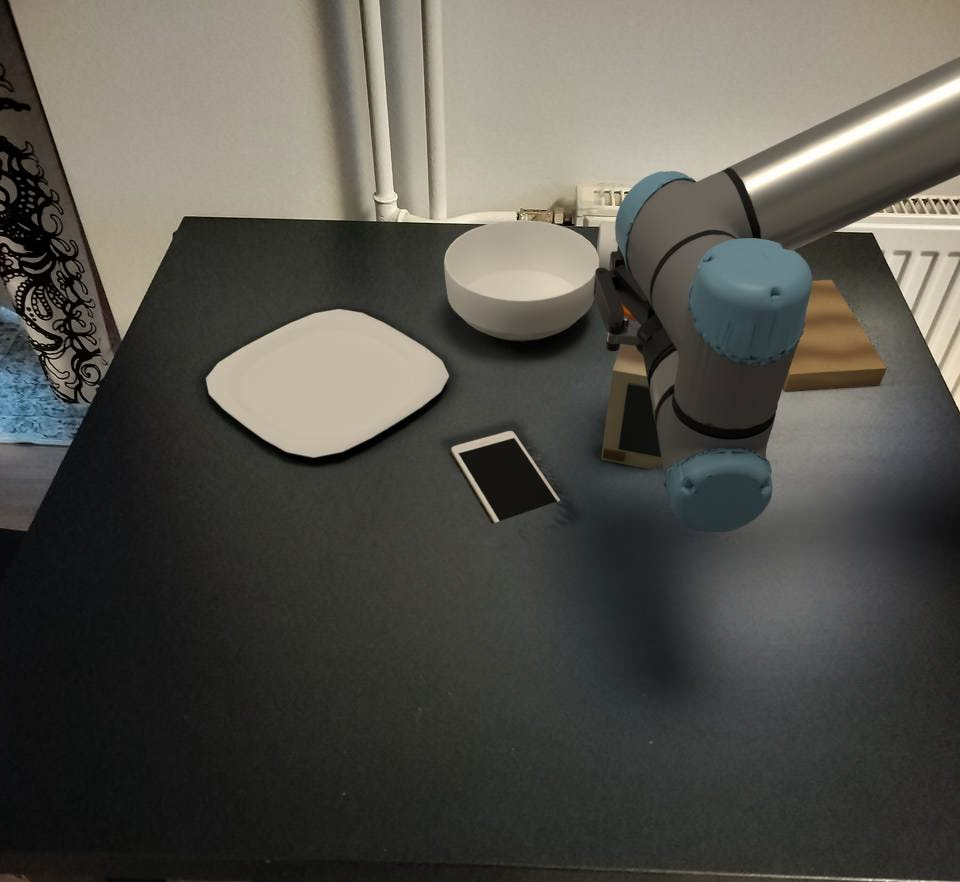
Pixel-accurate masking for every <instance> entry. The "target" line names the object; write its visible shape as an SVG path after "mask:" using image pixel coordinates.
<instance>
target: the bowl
mask: <svg viewBox="0 0 960 882" xmlns="http://www.w3.org/2000/svg"><path fill="white" fill-rule="evenodd" d="M443 267H444V280H445V289H446V295H447V301H448V303H449V305H450V307H451V308H452V310H453V311H454V312H455V313H456V314H457V315H458V316H459V317H461V318H462V320H464V322H465V323H466V324H467V325H469V326H470V327H472V328H473V329H475V330H476V331H479V332H481V333H484V334H485V335H487V336H491V337H493V338H497V339H500V340H505V341H511V342H530V341H537V340H541V339H545V338H548V337H552V336H554V335H557V334H559V333H561V332H563V331H566V330H567V329H569V328H570V327H572V326H573V325H574V324H575V323H577V321H578V320H580V319H581V318H582V317H584V315H585V314H587V313H588V311H589V310H590V309H591V307H592V305H593V303H594V301H595V298H594V296H593V292H594V281H595V271H596V269H598V268H599V256H598V254H597V248H595V246H594V244H592V243H591V241H589V240H588V239H587V238H586V237H584V236H583V235H582V234H580V233H578V232H576V231H575V230H572V229H570V228H568V227H565V226H562V225H559V224H555V223H550V222H545V221H538V220H526V219H525V220H522V219H516V220H515V219H514V220H503V221H497V222H492V223H491V222H490V223H488V224H483V225H481V226H477V227H474V228H472V229H470V230H467V231H466V232H464V233H462V234H461V235H460V236H458V237H457V238H456V239H454V241H453V242H452V243H451V244H450V245H449V246H448V248H447V250H446V251H445V254H444V259H443Z"/></svg>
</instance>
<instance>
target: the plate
mask: <svg viewBox="0 0 960 882" xmlns="http://www.w3.org/2000/svg"><path fill="white" fill-rule="evenodd" d="M449 378H450V374H449V372H448V370H447V368H446V366H445V364H444V362H443V360H442V358H439V357H438V356H437V355H436V354H435V353H433V352H432V351H431V350H430V349H428V348H426V346H424V345H422V344H421V343H419V342H418V341H416V340H414V339H413V338H411V337H409V336H408V335H406V334H404V333H403V332H401V331H399V330H398V329H396V328H394V327H392V326H390V325H389V324H387V323H385V322H384V321H381V320H379V319H376V318H374V317H372V316H370V315H368V314H366V313H364V312H360V311H359V312H358V311H353V310H348V309H341V308H336V309H331V310H326V311H319V312H314V313H311V314H308V315H306V316H304V317H302V318H299V319H297V320H295V321H291V322H289V323H287V324H286V325H283V326H280V327H279V328H277V329H275V330H273V331H272V332H269V333H267V334H265V335H264V336H262V337H259V338H257V339H256V340H254V341H252V342H250V343H248V344H246V345H244V346H242V347H241V348H239V349H237V350H236V351H235V352H233V353H231V354H229V355H228V356H226V357H225V358H223V359H222V360H220V361H218V362H217V363H216V365H215V366H214V367H213V369H212V370H211V371H210V372H209V373H208V375H207V376H206V377H205V381H206V386H207V391H208V395H209V396H210V398H211V399H213V401H214V402H215V403H216V404H217V405H218V406H219V407H220V408H221V409H222V410H223V411H224V412H225V413H227V414H228V415H229V416H230V417H232V418H233V419H235V421H237V422H238V423H239V424H241V425H242V426H243V427H245V428H246V429H247V430H248V431H250V432H252V433H253V434H254V435H256V436H257V437H258V438H260V439H261V440H263V441H264V442H266V443H268V444H269V445H271V446H273V447H275V448H277V449H278V450H280V451H282V452H284V453H285V454H288V455H294V456H298V457H304V458H309V459H314V460H315V459H319V458H323V457H324V458H325V457H330V456H335V455H340V454H343V453H346V452H348V451H350V450H352V449H354V448H356V447H358V446H360V445H363V444H364V443H367V442H368V441H370V440H372V439H374V438H375V437H378V436H379V435H380V434H382V433H384V432H385V431H388V430H389V429H391V428H392V427H394V426H396V425H397V424H399V423H401V422H402V421H403V420H406V419H407V418H408V417H410V416H412V415H413V414H415V413H416V412H418V411H419V410H421V409H423V408H424V407H425V406H426V405H427V404H429V403H430V402H431V401H433V400H435V398H437V397H438V396H439V395H440V394H441V393H442V392H443V389H444V388H445V386H446V384H447V382H448V380H449Z"/></svg>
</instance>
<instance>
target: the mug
mask: <svg viewBox="0 0 960 882" xmlns="http://www.w3.org/2000/svg"><path fill="white" fill-rule="evenodd" d="M615 223H616V221H612V220H611V221H607V220H600V222H599V226H598V235H597V244H596V251H597V254H598V256H599V268H606V269H607V270H608V271H610V270H609V264H610V255H611V253H612V251H617V247H618V244H617V242H616V236H615Z"/></svg>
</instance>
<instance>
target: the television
mask: <svg viewBox="0 0 960 882" xmlns="http://www.w3.org/2000/svg"><path fill="white" fill-rule="evenodd" d="M634 329H635V330H638V329H639V328H638V329H637V328H634ZM610 378H611V379H610V386H609V395H608V402H607V409H606V416H605V417H606V418H605V425H604V426H605V427H604V435H603V440H602V441H603V443H602V450H601V458H600V460H601V461H603V462H604V461H605V462H610V463H615V464H619V465H625V466H631V467H635V468H641V469H645V470H653V469H656V468H660V467H663V465H662V458H661V452H660V446H659V440H658V434H657V428H656V423H655V419H654V414H653V408H652V402H651V396H650V390H649V386H648V380H647V375H646V369H645V363H644V357H643V355H642V354H641V353H640V352H639V351H638V350H637V348H636V346H634V345H626V344H620V347H619V350H618V353H617V356H616V359H615V362H614V364H613V368H612V369H611V377H610Z"/></svg>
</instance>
